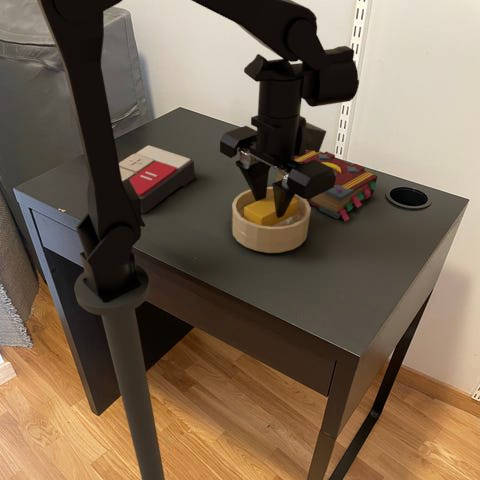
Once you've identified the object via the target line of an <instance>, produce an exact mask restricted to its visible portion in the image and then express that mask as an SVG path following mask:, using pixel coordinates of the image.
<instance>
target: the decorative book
mask: <svg viewBox="0 0 480 480" xmlns="http://www.w3.org/2000/svg"><path fill="white" fill-rule="evenodd" d="M314 159H315V160H317V161H319V162H321V163H323V164H325V165H327V166H329V167H331V168H333V169H334V171H335V172H336V180H335V185H334V187H333V188H331V189H329V190H327V191H325V192H323V193H321V194H319V195H317V196H315V197H313V198H311V199H306V200H307V201H308V203H309V205H312V206H313V207H315V208H318V210H319V211H321V212H322V213H324V214H326V215H328V216H330V217H332V218H334V219H336V220H337V219H339V218H341V217H342V219H343V221H344V222H347V221H348V220H350V217H349V215H348V212H350V211H351V210H353V209H354V208H355V207H356V208H359V207H361V206H362V203H363V202H364V201H366V200H368V199H369V198H371V197H373V196H374V192H375V189H377V186H376V184H377V180H378V175H376V174H374V173H372V172H369V171H367V170H365V167H364V166H361V165H359V164H356V163H354V164H351V163H349V162H347V161H344V160H341V159H339V158H337V157H336V154H334V153H331V152H329V151H325V152H323V151H321V150H320V151H319V152H318V153H317V152H315V151H312V150H306V152H305V155H303V156H300V157H299V156H295V159H294V160H295V161H297V162H305V163H307V162H309V161H311V160H314ZM272 168H273V167H272ZM273 170H275V171H276V179H275V180H274V181H272V182H271V184H272V183H275V182H277V181H279V180H282V177H283V174H284V172H281V171H279V170H277V169H275V168H273Z"/></svg>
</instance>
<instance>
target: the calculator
mask: <svg viewBox="0 0 480 480" xmlns="http://www.w3.org/2000/svg"><path fill="white" fill-rule="evenodd" d="M194 161H195V160H193V159H191V158H188V157H187V156H183V155H179V154H177V153H173V152H171V151H167V150H164V149H162V148H158V147H155V146H152V145H149V144H148V145H145V146H144V147H143V148H141V149H140V150H139V151H137V152H136V153H133V154H131V155H129V156H128V157H126V158H125V159H123V160H122V161H120V162H119V167H120V172H121V178H122V181H124V180H126V179H130V181H131V183H132V185H133V187H134V189H135V190H136V192H137V194H138V196H139V198H140V199H141V214H146V213H147V212H149V211H150V210H151V209H153V208H154V207H155V206H156V205H158V204H159V203H161V202H162V201H164V200H165V198H167V197H168V196H170V195H171V194H172V193H173V192H175V191H176V190H178V189H179V188H180V187H185V186H187V185H188V184H189V183H190V182H192V181H193V180H194V179H195V178H196V173H195V171H196V170H195V162H194Z"/></svg>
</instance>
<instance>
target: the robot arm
mask: <svg viewBox="0 0 480 480" xmlns="http://www.w3.org/2000/svg"><path fill="white" fill-rule="evenodd" d="M123 1H124V0H36V2H37V5H38V7H39V9H40V11H41V15H42V16H43V19H44V22H45V24H46V26H47V29H48V31H49V33H50V35H51V36H50V37H51V38H52V40H53V43H54V45H55V47H56V49H57V53H58V54H59V57H60V60H61V62H62V67H63V71H64V74H65V79H66V82H67V88H68V93H69V96H70V101H71V105H72V110H73V113H74V117H75V123H76V126H77V130H78V131H77V132H78V136H79V140H80V144H81V147H82V152H83V156H84V157H83V158H84V161H85V165H86V169H87V173H88V183H87V191H86V192H87V213H86V214H85V215H84V217H82V219H81V221H80V222H79V223H78V225H77V226H76V228H75V229H76V233H77V235H78V238H79V242H80V244H81V246H82V249H83V251H81V252H80V253H79V255H80V260H81V263H82V267H83V272H84V271H85V275H86V277H85V278H83V283H84V284H85V285H86V286H87V287H88V288H89V289H90V290H91V291H92V292H93V293H94V294H95V295H96V296H97V297H98V298H99V299H100V300H101V301H102V302H103V303H106V302H109V301H111V300H113V299H115V298H117V297H119V296H121V295H123V294H125V293H127V292H129V291H131V290H133V289H135V288H137V287H139V286H141V282H140V281H139V280H138V279H137V278H136V277H135V276H136V275H137V271H136V265H137V264H136V259H135V254H134V252H132V251H133V247H134V246H135V245H136V244H137V242H138V241H139V240H140V239H141V236H142V228H145V227H146V223H145V221H144V220H143V218H142V213H141V199H140V198H139V196H138V194H137V192H136V190H135V189H134V187H133V185H132V183H131V181H130V179H126V180H124V181H122V178H121V172H120V167H119V163H120V162H119V157H118V151H117V147H116V146H117V145H116V140H115V135H114V134H115V133H114V129H113V124H112V118H111V112H110V107H109V102H108V101H109V100H108V96H107V91H106V90H107V89H106V85H105V80H104V76H103V75H104V73H103V69H102V56H103V49H104V48H103V47H104V40H105V39H104V38H105V26H104V25H105V21H104V20H105V17H104V12H105V11H107V10H109V9H111V8H113V7H115V6H116V5H118V4H121V2H123ZM191 1H192V2H194V3H195V4H197V5H199V6H201V7H203V8H205V9H207V10H210V11H211V12H213V13H216V14H217V15H219V16H222V17H224V18H225V19H228V20H229V21H231V22H234V23H235V24H236V25H238V26H239V28H240V29H242V30H243V31H244V32H245V33H247V34H248V35H249V36H250V37H252V38H253V39H254V40H256V41H257V42H258V43H259V44H260V45H261V46H263V47H265V48H266V49H267V50H269V51H271V52H272V53H274V54H275V55H277V56H279V58H277V59H269V60H267V58H266V57H264V56H263V55H261V54H260V53H257V54H256V56H255V57H254V59H253V60H252V61H251V62H249V63H248V64H247V65H246V66H245V67H244V69H243V72H244V74H246V75H247V76H248V77H249V78H250V79H252V80H253V81H255V82H256V83H258V84H259V85H258V101H257V102H258V105H257V115H254V116H251V117H250V125H251V126H253V127H255V128H256V129H254V128H252V127H250V126H248V125H244V126H241V127H238V128H235V129H232V130H229V131H226V132H224V133H223V134H222V137H221V138H220V140H219V153H221V154H222V155H224V156H226V157H228V158H230V159H233V158H234V157H236V156H237V155H238V153H239V159H238V160H236V161H235V166H236V167H237V168H238V169H239V170H240V173H241V175H243V177H244V179H245V181H246V183H247V185H248V187H249V189H251V191H252V193H253V196H254V198H255V200H256V202H257V201H259V200H261V199H263V198H266V194H267V187H268V183H269V175H270V169H271V168H275V169H277V170H279V171H281V172H284V174H283V177H282V180H279V181H277V182H275V183H272V182H271V187H273V194H274V202H275V210H276V214H277V217H278V218H281V217H283V216H284V214H285V212H286V210H287V208H288V207H289V205H290V203H291V201H292V199H293V197H294V196H295V194H296V195H298V196H300V197H301V198H303V199H311V198H313V197H315V196H317V195H319V194H321V193H323V192H325V191H327V190H329V189H331V188H333V187H334V185H335V180H336V172H335V171H334V169H333V168H331V167H329V166H327V165H325V164H323V163H321V162H319V161H317V160H315V159H314V160H311V161H309V162H307V163H305V162H297V161H295V160H294V159H295V156H299V157H300V156H303V155H305V152H306V151H308V150H312V151H315V152H317V153H318V152H319V151H321V148H322V145H323V142H324V140H325V137H326V135H327V130H325V129H323V128H321V127H318V126H316V125H315V124H312V123H309V122H307V120H306V119H307V118H306V117H304V116H302V115H301V109H302V107H301V106H302V100H304V101H305V103H306V104H307V105H308V106H309V107H312V108H314V107H320V106H327V105H333V104H341V103H347V102H351V101H353V99H354V98H355V97H356V95H357V93H358V89H359V85H360V80H359V75H358V74H359V72H358V68H357V64H356V62H355V60H354V56H355V50H354V49H353V48H351V47H349V46H347V45H340V46H337V47H334V48H328V49H325V48H324V46H323V44H322V42H321V40H320V38H319V36H318V34H317V33H318V23H317V20H318V18H317V16H316V14H315V13H314V12H313V11H312V10H311V8H309V7H306V6H304V5H302V4H301V3H298V2H295V1H294V0H191ZM298 61H300V62H298ZM295 62H298V63H295ZM275 169H274V170H275ZM277 170H276V171H277ZM141 227H142V228H141ZM135 264H136V265H135ZM104 299H105V300H104Z"/></svg>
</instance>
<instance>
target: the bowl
mask: <svg viewBox="0 0 480 480" xmlns="http://www.w3.org/2000/svg"><path fill="white" fill-rule="evenodd" d="M272 194H273V186H267V194H266V197H268V196H270V195H272ZM293 198H295V199H296V200H298V207H297V214H296V215H294V216H292V217H290V218H288V219H286V220H284V221H282V222H280V223H278V224H276V225H274V226H272V227H269V226H262V225H258V224H255V223H252V222H249V221H247V220H246V219H244V207H246V206H248V205H250V204H252V203H254V202H256V200H255V198H254V196H253V193H252V191H251V189H250V188H249V189H248V190H245V191H243V192H241V193H239V194H237V196H236V197H235V198H234V200H233V202H232V204H231V233H232V236H233V237H234V239H235V240H236V241H237V242H238V243H239V244H241V245H242V246H243V247H245V248H248V249H251V250H253V251H256V252H259V253H260V252H261V253H266V254H279V253H284V252H289V251H292V250H295V249H296V248H298V247H300V246H301V245H302V244H303V243H304V242H305V241H306V240H307V236H308V232H309V225H310V219H311V211H312V207H311V206H310V205H311V204H309V203H308V201H307V200H306V199H303V198H301V197H300V196H298V195H296V194H295V196H294V197H293Z"/></svg>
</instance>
